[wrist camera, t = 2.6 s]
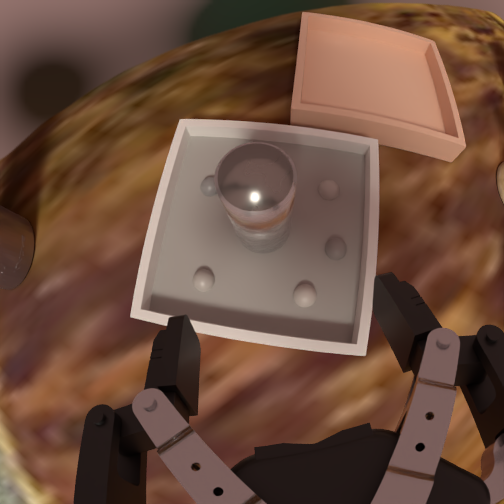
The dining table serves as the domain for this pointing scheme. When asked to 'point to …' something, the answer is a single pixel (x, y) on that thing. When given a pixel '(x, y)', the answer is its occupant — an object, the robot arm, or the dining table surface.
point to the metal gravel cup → (258, 194)
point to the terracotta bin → (375, 86)
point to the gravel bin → (269, 264)
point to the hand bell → (501, 181)
